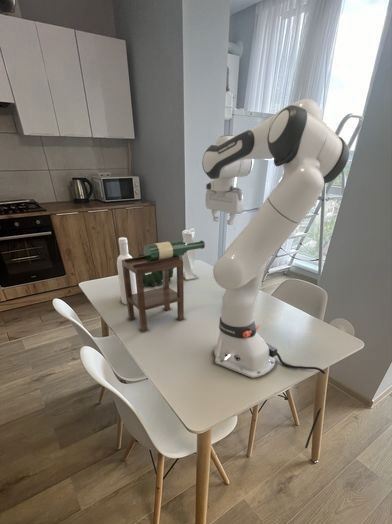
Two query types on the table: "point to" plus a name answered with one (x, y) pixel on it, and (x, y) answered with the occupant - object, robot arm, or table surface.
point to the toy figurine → (155, 277)
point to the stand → (156, 295)
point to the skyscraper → (188, 256)
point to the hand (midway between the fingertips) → (222, 222)
